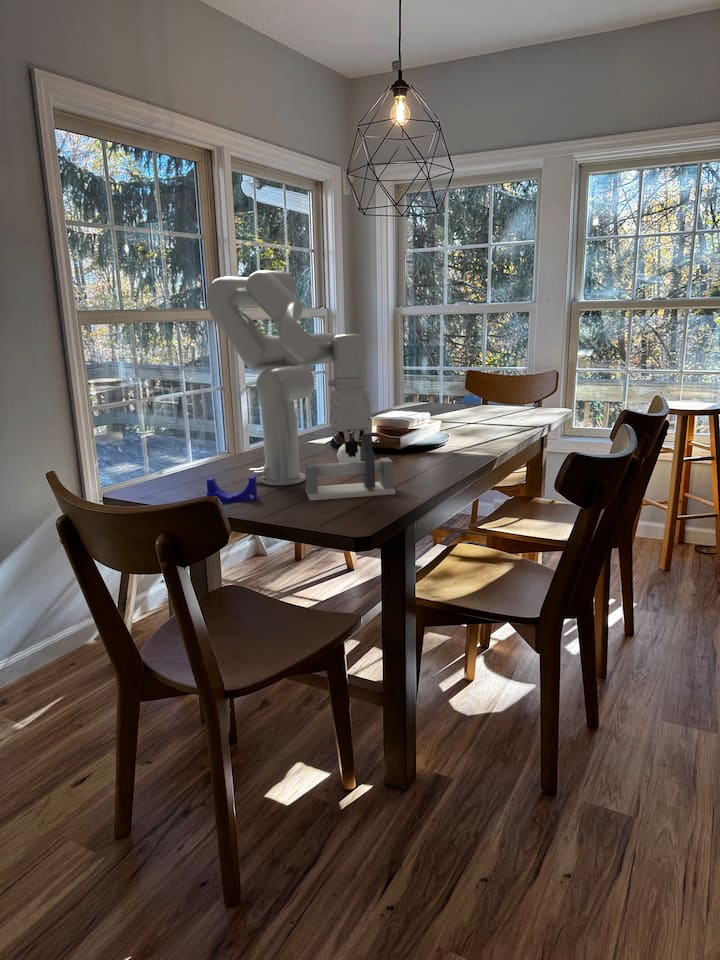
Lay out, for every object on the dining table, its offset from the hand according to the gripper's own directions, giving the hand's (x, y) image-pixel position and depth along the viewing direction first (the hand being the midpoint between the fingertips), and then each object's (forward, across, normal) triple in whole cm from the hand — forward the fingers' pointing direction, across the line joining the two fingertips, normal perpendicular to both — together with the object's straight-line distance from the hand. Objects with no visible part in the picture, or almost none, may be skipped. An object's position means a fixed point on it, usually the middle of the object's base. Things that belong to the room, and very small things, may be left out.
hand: (351, 455), depth 172 cm
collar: (+8, +4, 0) cm, 9 cm away
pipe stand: (+10, -1, 0) cm, 10 cm away
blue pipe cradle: (+10, -31, +1) cm, 32 cm away
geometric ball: (+10, +4, +29) cm, 31 cm away
